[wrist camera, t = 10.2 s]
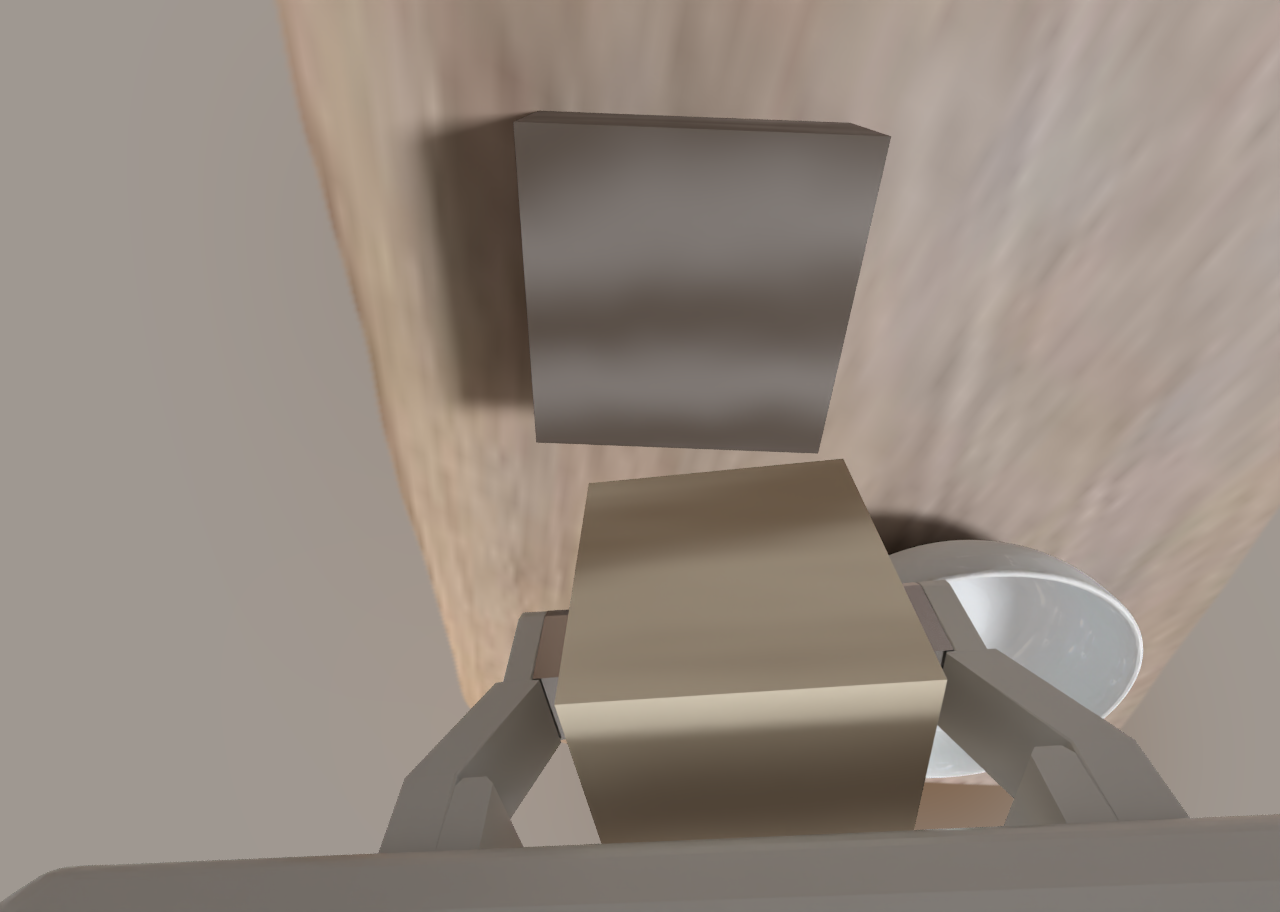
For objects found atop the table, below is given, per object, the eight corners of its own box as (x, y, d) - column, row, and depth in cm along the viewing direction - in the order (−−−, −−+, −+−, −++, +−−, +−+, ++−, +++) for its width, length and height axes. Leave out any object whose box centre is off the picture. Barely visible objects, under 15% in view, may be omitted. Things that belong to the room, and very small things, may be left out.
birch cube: (588, 483, 12) (554, 704, 8) (843, 458, 12) (947, 679, 8) (624, 648, 15) (613, 878, 11) (833, 633, 14) (905, 866, 10)
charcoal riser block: (539, 110, 28) (513, 121, 22) (847, 122, 27) (890, 136, 22) (553, 387, 35) (536, 442, 30) (794, 396, 35) (818, 453, 30)
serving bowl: (784, 503, 39) (806, 580, 33) (1122, 489, 38) (1206, 566, 32) (769, 701, 50) (784, 784, 45) (1029, 695, 49) (1078, 779, 44)
